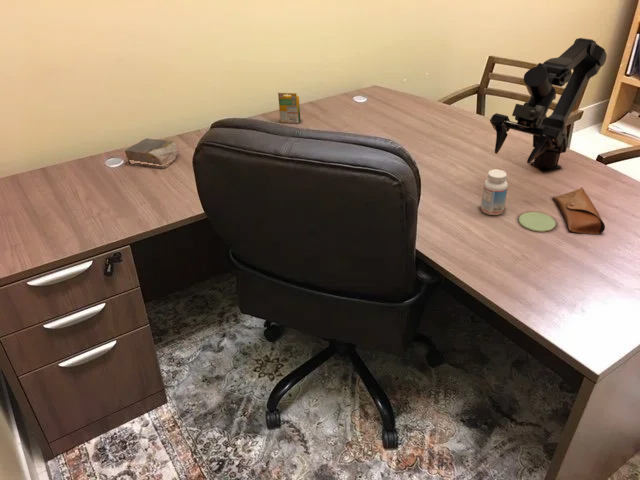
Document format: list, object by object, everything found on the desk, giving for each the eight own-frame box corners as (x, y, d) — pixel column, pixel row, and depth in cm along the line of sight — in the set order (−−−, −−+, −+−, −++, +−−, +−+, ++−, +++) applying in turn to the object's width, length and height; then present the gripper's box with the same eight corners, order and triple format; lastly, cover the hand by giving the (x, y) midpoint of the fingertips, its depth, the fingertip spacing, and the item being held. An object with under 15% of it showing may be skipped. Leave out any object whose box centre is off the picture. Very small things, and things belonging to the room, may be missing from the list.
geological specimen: (142, 137, 185) (178, 139, 180) (146, 153, 189) (182, 156, 184) (122, 149, 177) (160, 152, 172) (127, 166, 180) (165, 169, 175)
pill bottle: (504, 205, 147) (510, 169, 141) (502, 217, 142) (509, 180, 136) (481, 203, 149) (486, 166, 142) (479, 214, 144) (484, 177, 138)
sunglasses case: (550, 196, 149) (567, 177, 145) (570, 207, 151) (587, 189, 147) (569, 232, 134) (589, 212, 131) (590, 244, 136) (611, 225, 132)
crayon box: (300, 120, 205) (298, 90, 198) (298, 123, 202) (296, 93, 196) (282, 119, 206) (279, 90, 200) (280, 122, 204) (277, 92, 197)
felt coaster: (539, 210, 144) (540, 209, 144) (563, 227, 137) (563, 225, 137) (511, 217, 142) (511, 216, 142) (533, 235, 135) (533, 233, 135)
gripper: (498, 83, 141) (471, 136, 141) (568, 98, 130) (539, 155, 130) (507, 103, 150) (482, 153, 150) (574, 119, 139) (547, 172, 139)
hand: (511, 157), depth 142 cm, fingers open, 9 cm apart
